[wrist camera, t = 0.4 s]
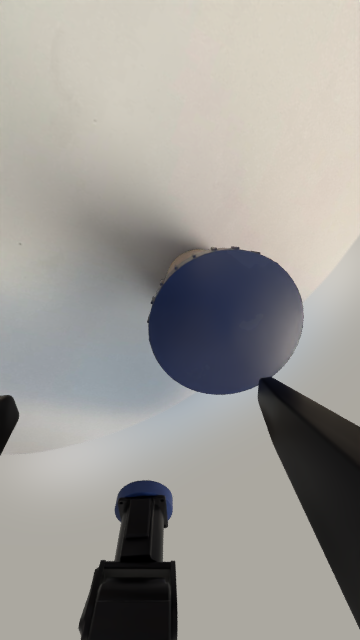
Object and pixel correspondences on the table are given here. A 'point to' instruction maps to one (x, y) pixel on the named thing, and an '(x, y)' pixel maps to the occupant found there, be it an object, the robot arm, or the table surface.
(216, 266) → the jar lid
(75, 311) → the table surface
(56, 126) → the table surface
